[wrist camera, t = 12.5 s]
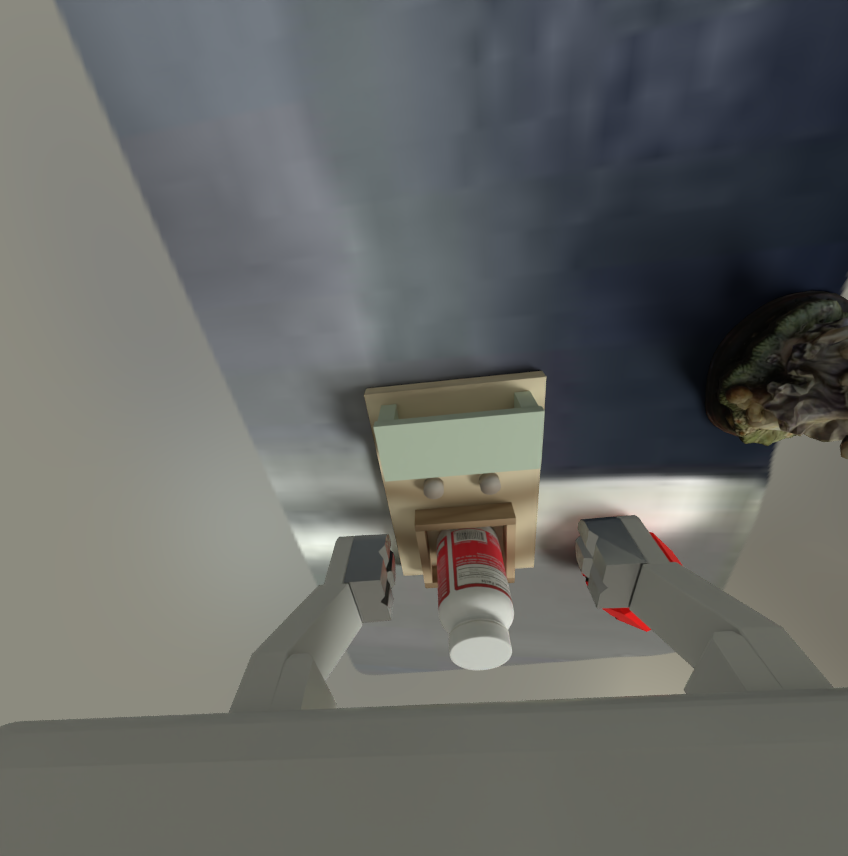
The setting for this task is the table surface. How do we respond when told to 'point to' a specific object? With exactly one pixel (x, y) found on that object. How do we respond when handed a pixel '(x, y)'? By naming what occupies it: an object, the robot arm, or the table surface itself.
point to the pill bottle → (474, 597)
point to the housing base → (461, 476)
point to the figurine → (784, 372)
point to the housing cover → (461, 441)
